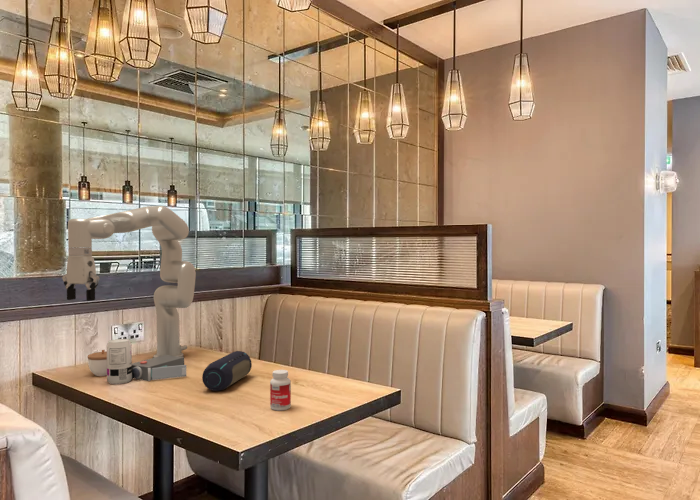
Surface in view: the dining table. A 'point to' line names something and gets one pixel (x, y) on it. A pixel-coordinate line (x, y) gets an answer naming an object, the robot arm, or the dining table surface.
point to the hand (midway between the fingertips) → (81, 300)
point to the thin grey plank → (168, 372)
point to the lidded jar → (98, 363)
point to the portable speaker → (226, 370)
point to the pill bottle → (280, 390)
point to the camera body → (153, 366)
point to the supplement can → (119, 361)
